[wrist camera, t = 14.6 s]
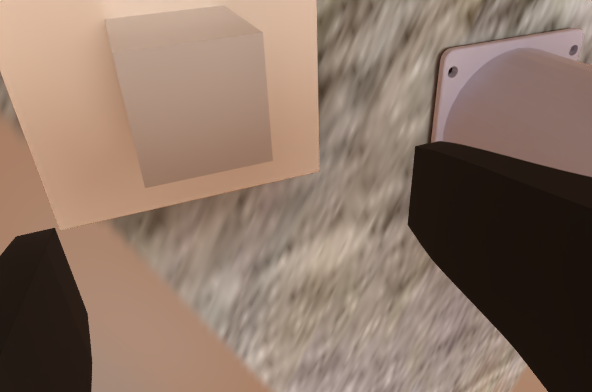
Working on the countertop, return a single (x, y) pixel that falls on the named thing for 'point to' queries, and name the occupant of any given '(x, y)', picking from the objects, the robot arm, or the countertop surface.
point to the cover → (160, 98)
